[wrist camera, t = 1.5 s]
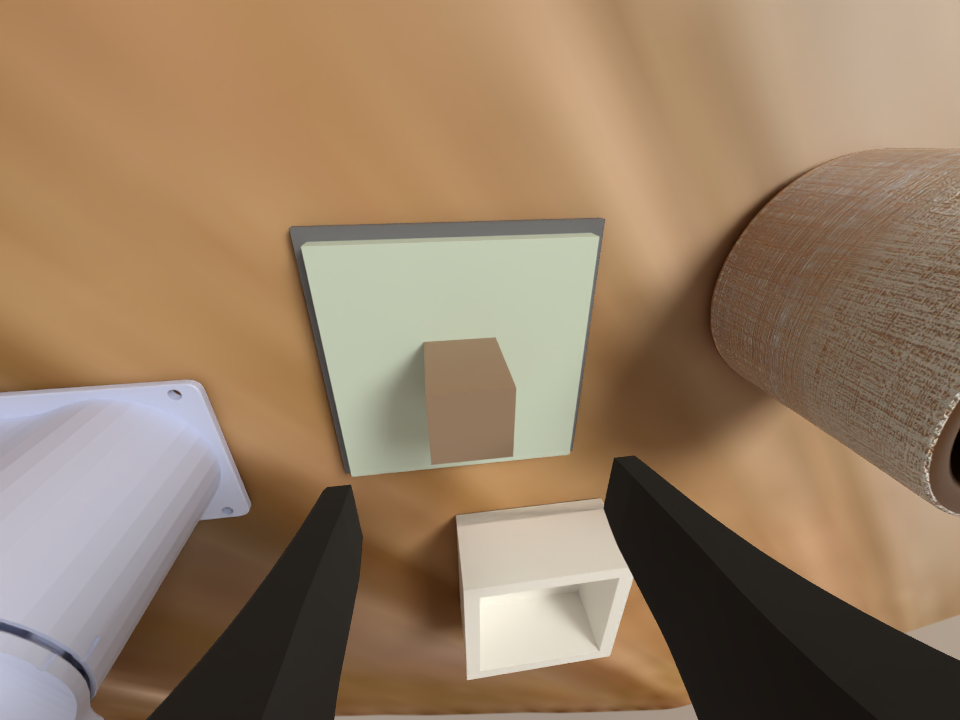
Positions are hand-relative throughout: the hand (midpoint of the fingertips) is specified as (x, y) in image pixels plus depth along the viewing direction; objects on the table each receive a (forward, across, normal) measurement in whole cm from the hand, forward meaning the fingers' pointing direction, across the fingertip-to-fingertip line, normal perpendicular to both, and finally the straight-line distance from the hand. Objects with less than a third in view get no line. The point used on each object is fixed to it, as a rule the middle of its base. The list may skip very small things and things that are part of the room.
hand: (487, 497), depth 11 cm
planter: (+9, -17, -3) cm, 19 cm away
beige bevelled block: (+8, -4, +15) cm, 18 cm away
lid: (+8, 0, 0) cm, 8 cm away
